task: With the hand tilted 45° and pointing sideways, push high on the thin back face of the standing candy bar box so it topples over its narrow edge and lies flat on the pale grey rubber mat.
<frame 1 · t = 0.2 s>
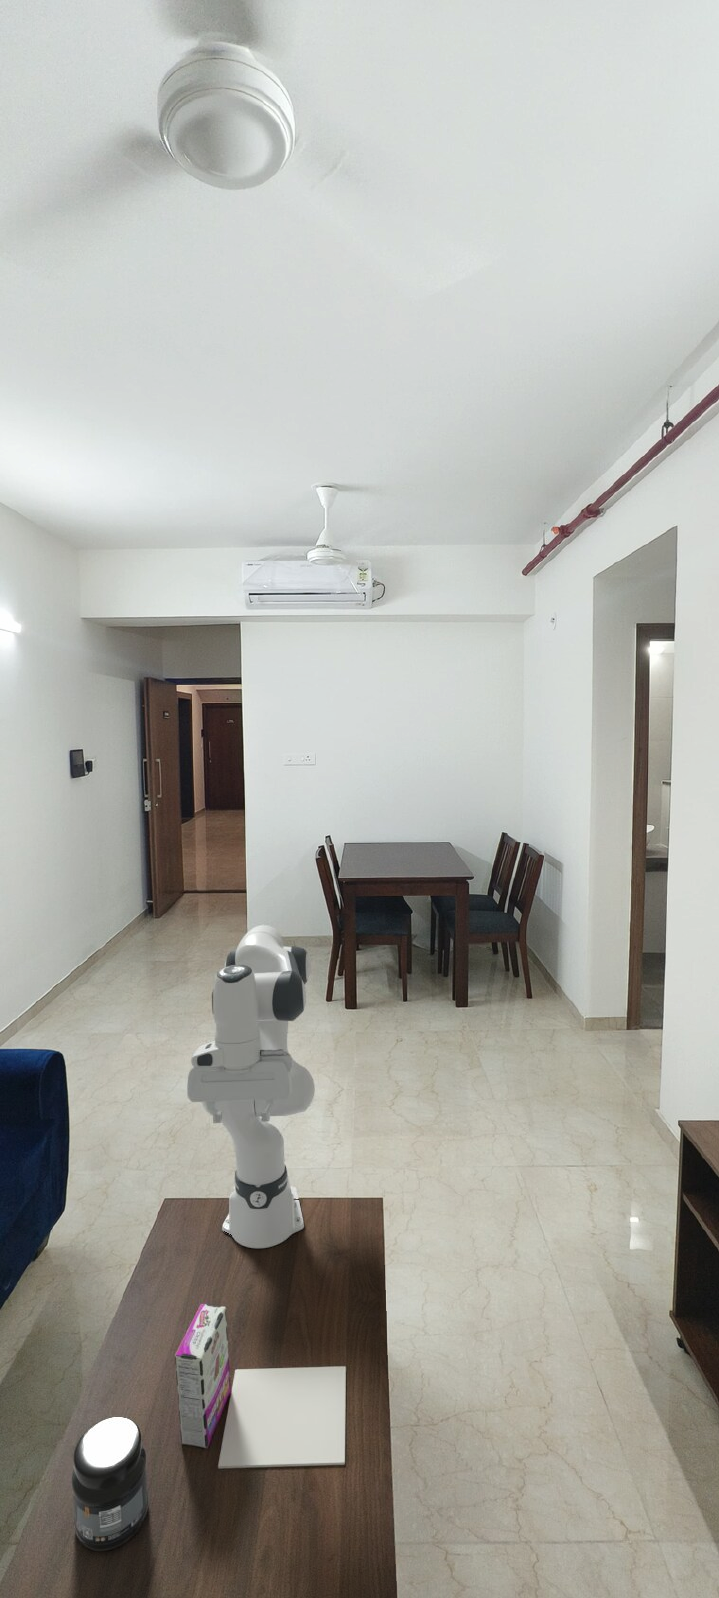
hand: (241, 1121, 150), 39 cm above the table, tool pointing down, fingers open, 8 cm apart
mat: (286, 1414, 130), on the table
supplement container: (112, 1518, 114), on the table
candy bar box: (206, 1418, 130), on the table
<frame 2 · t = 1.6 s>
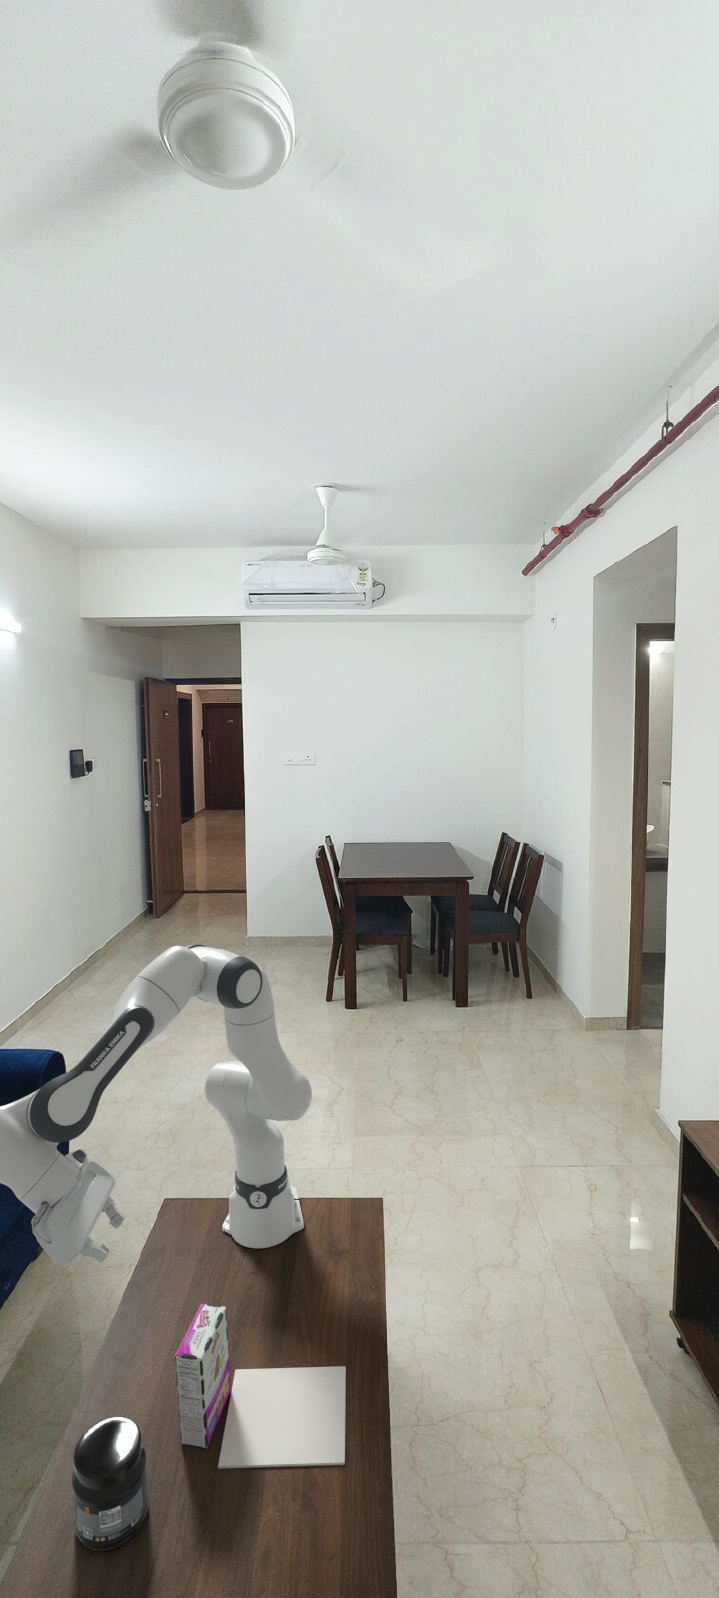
hand: (113, 1239, 131), 30 cm above the table, tool tilted 45°, fingers open, 7 cm apart
nothing on the table moved.
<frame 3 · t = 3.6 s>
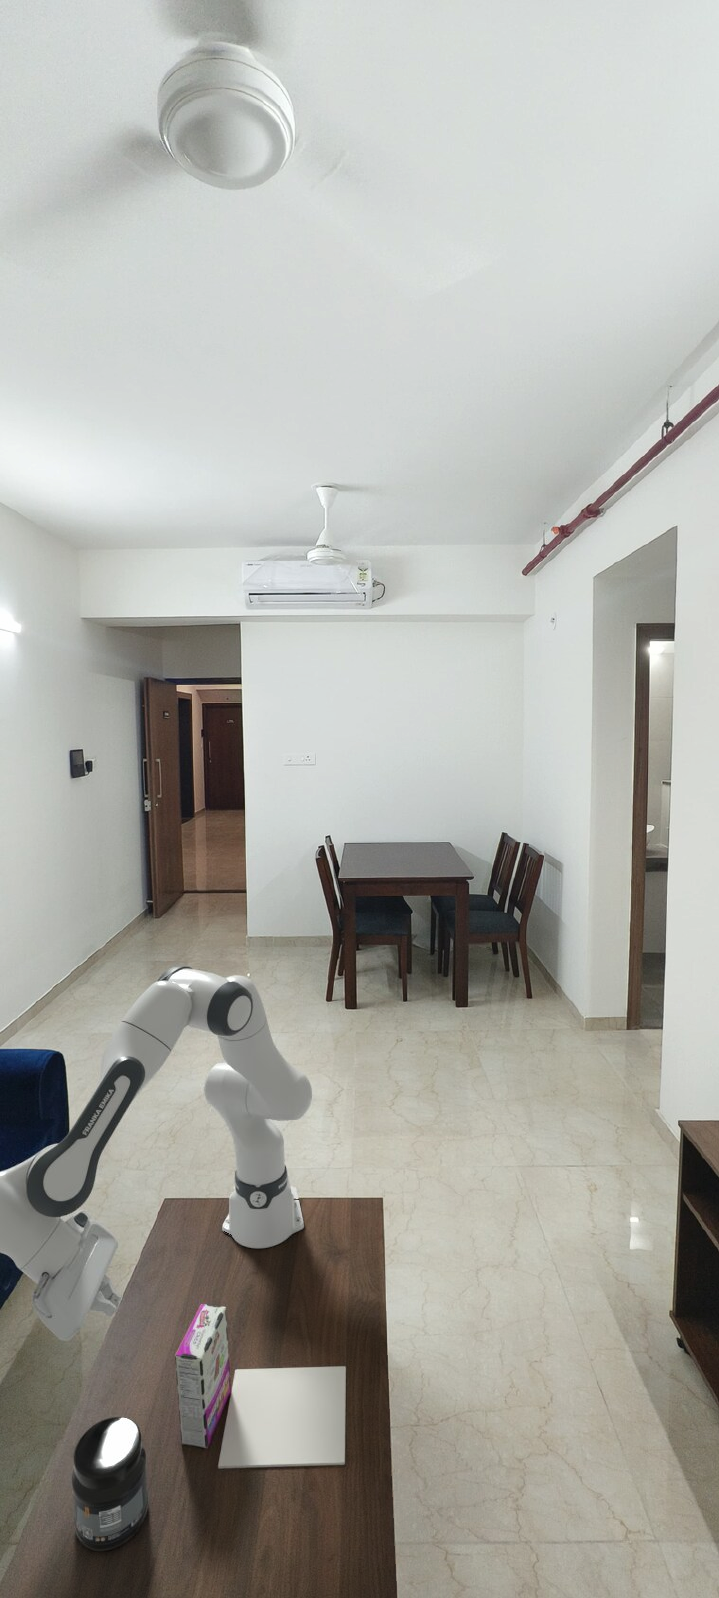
hand: (116, 1307, 128), 21 cm above the table, tool tilted 45°, fingers closed
nothing on the table moved.
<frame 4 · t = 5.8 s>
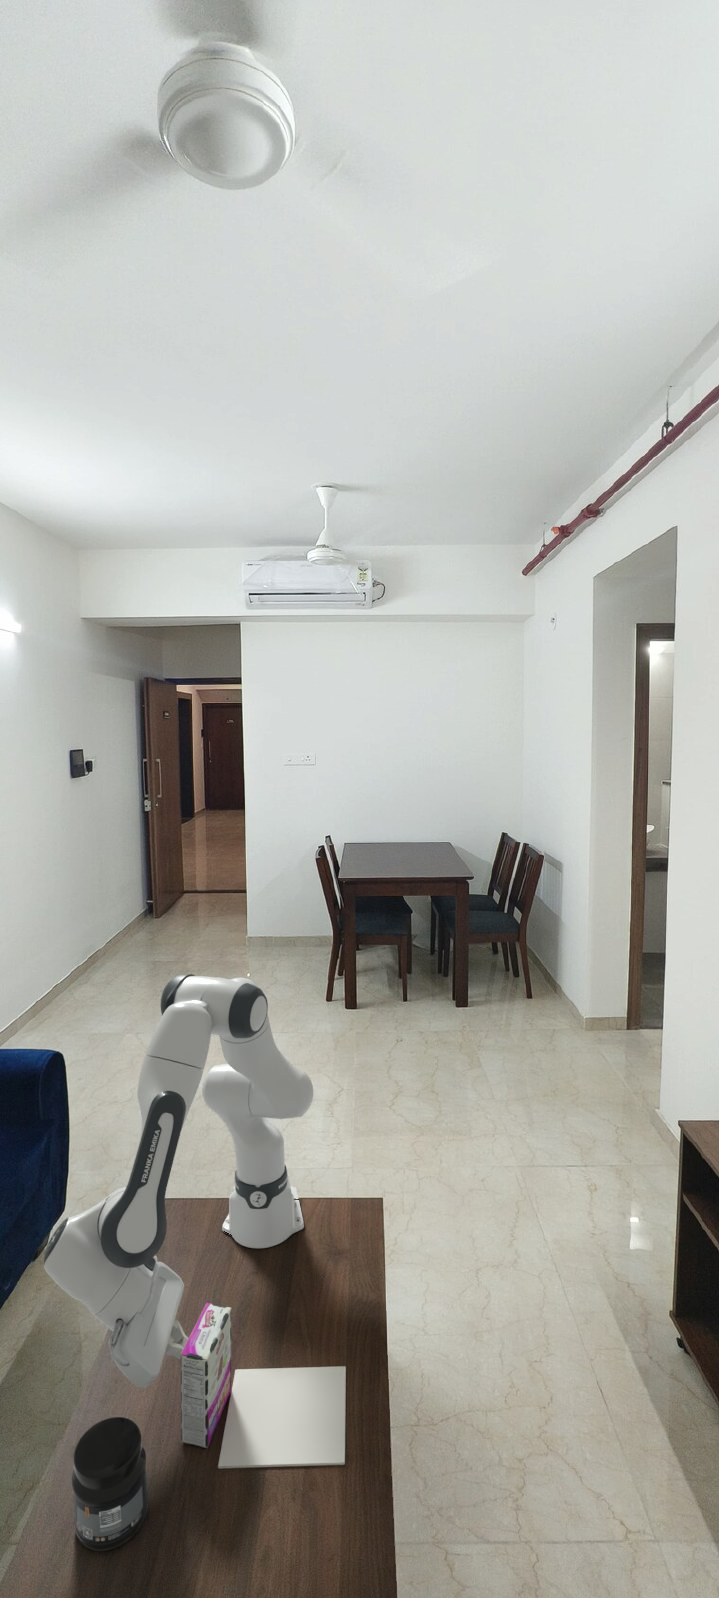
hand: (187, 1351, 129), 12 cm above the table, tool tilted 45°, fingers closed
candy bar box: (206, 1417, 130), on the table, touching gripper
everything else where it was.
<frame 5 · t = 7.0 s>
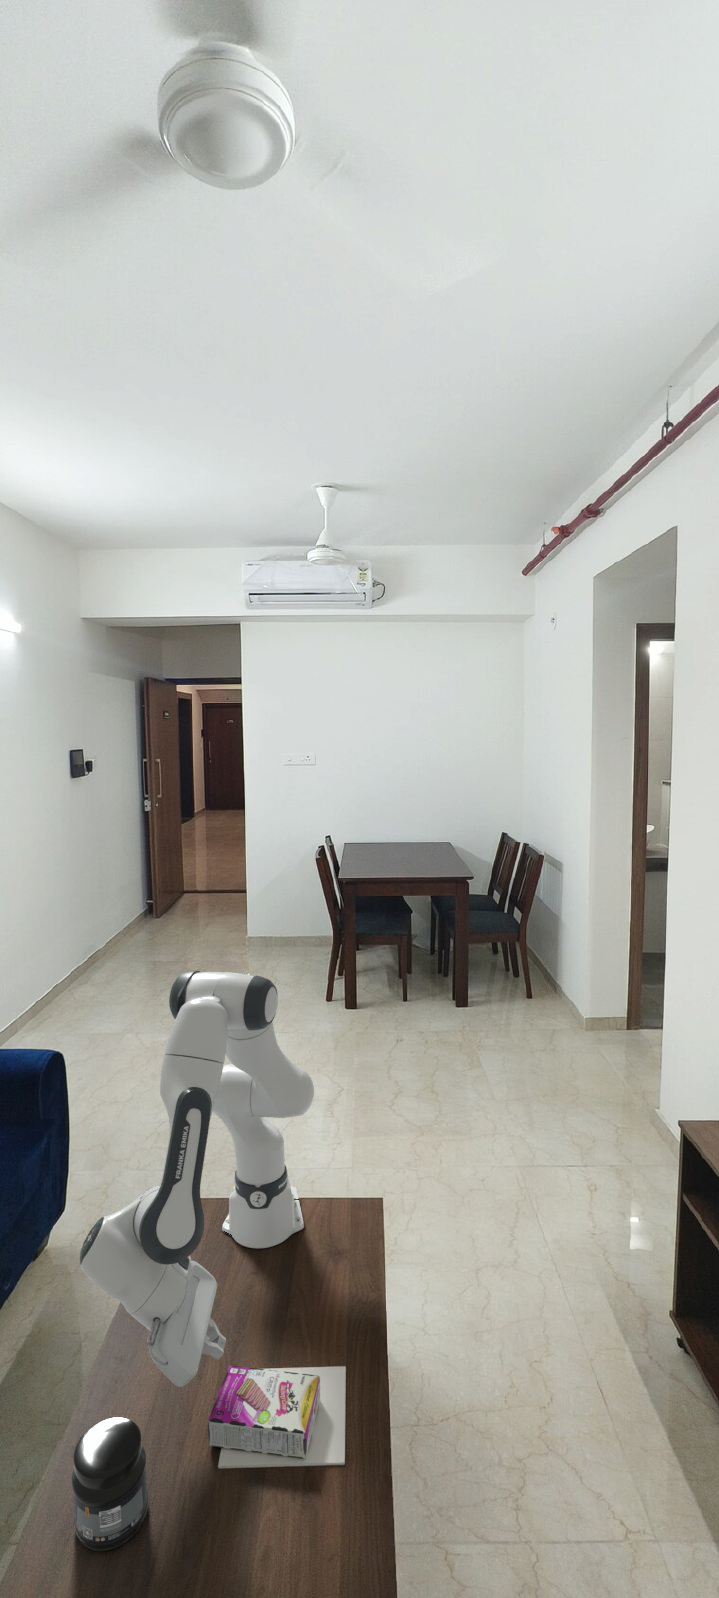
hand: (222, 1350, 129), 12 cm above the table, tool tilted 45°, fingers closed
candy bar box: (217, 1403, 130), point 3 cm above the table, touching mat
everything else where it was.
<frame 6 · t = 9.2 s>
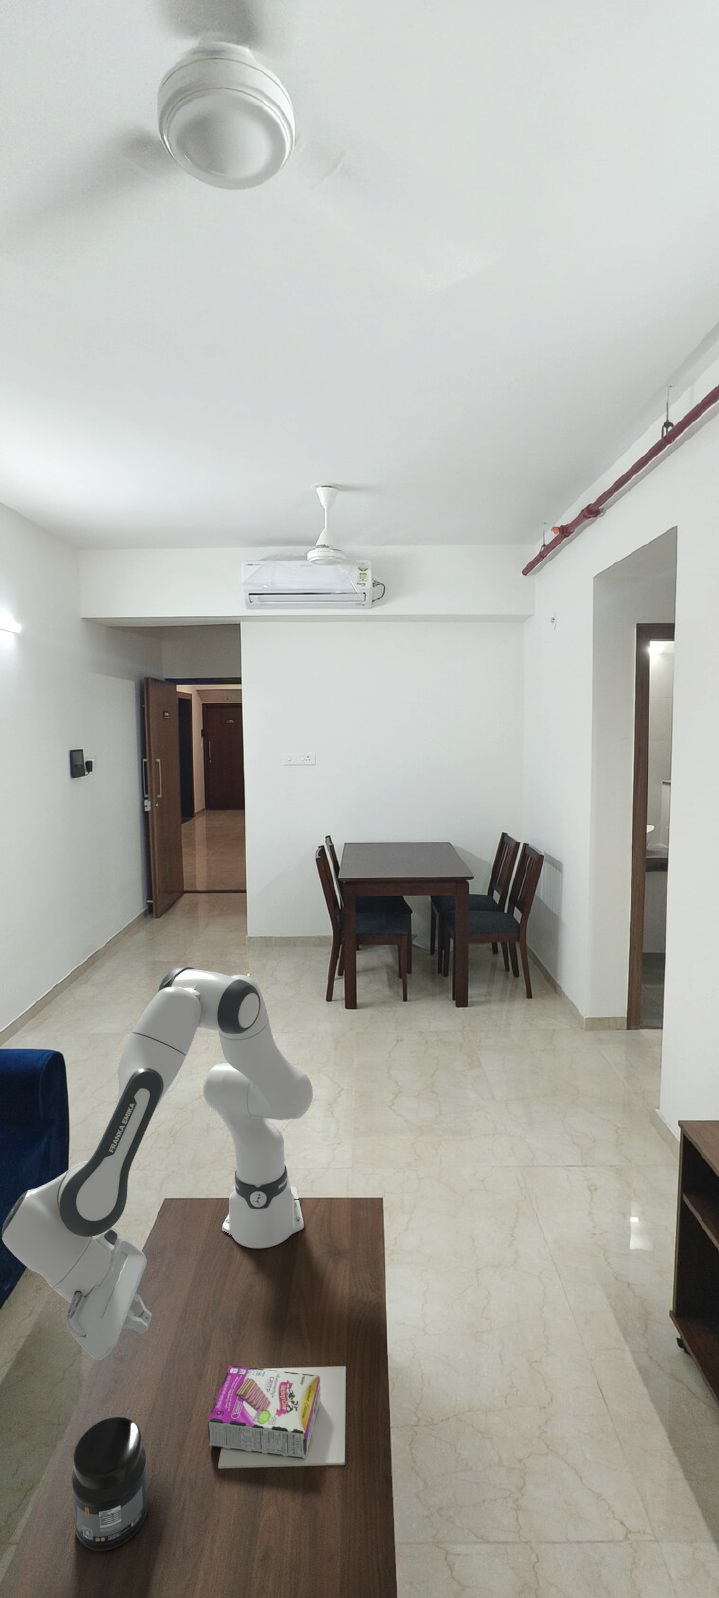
hand: (147, 1325, 128), 17 cm above the table, tool tilted 45°, fingers closed
nothing on the table moved.
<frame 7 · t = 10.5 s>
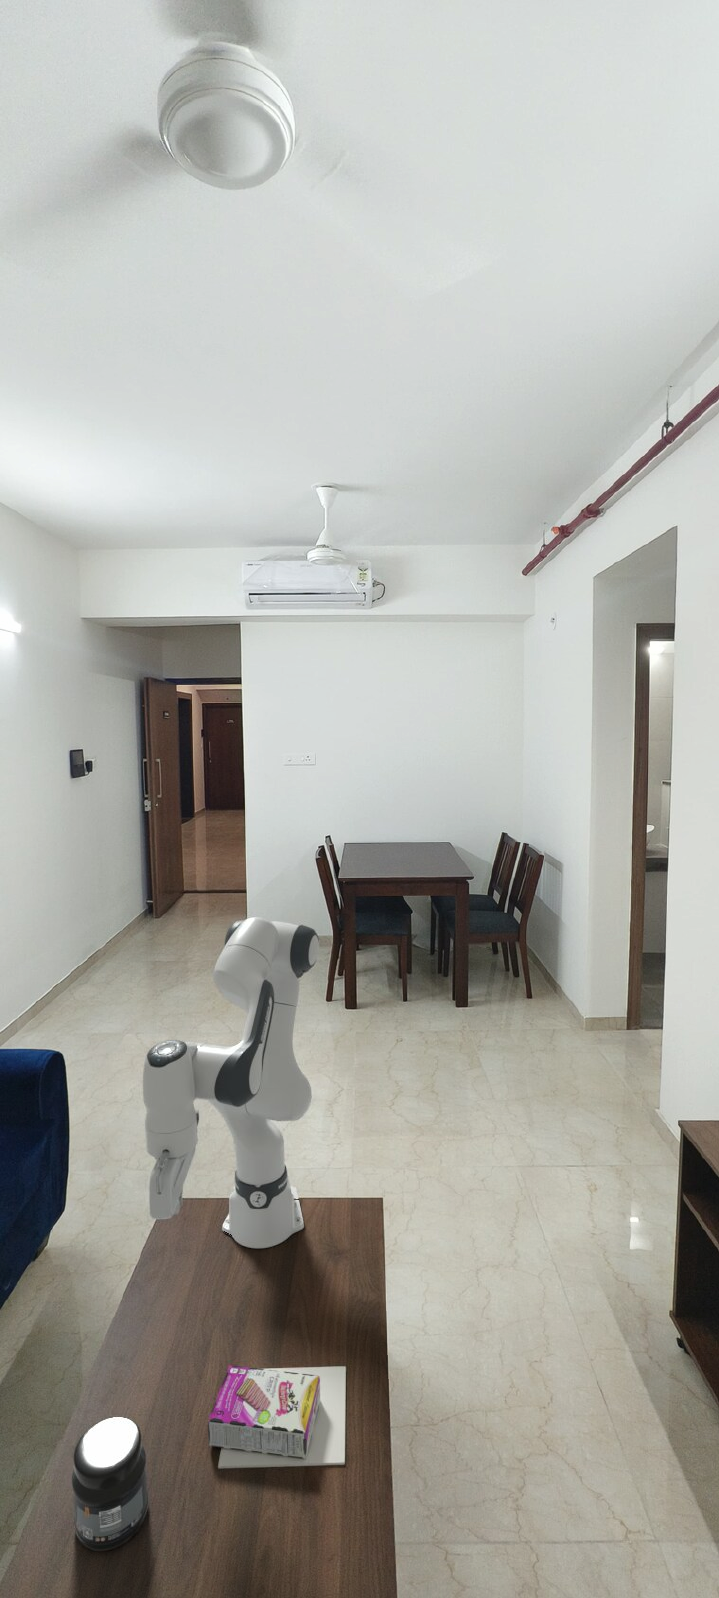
hand: (175, 1209, 137), 31 cm above the table, tool pointing down, fingers closed
nothing on the table moved.
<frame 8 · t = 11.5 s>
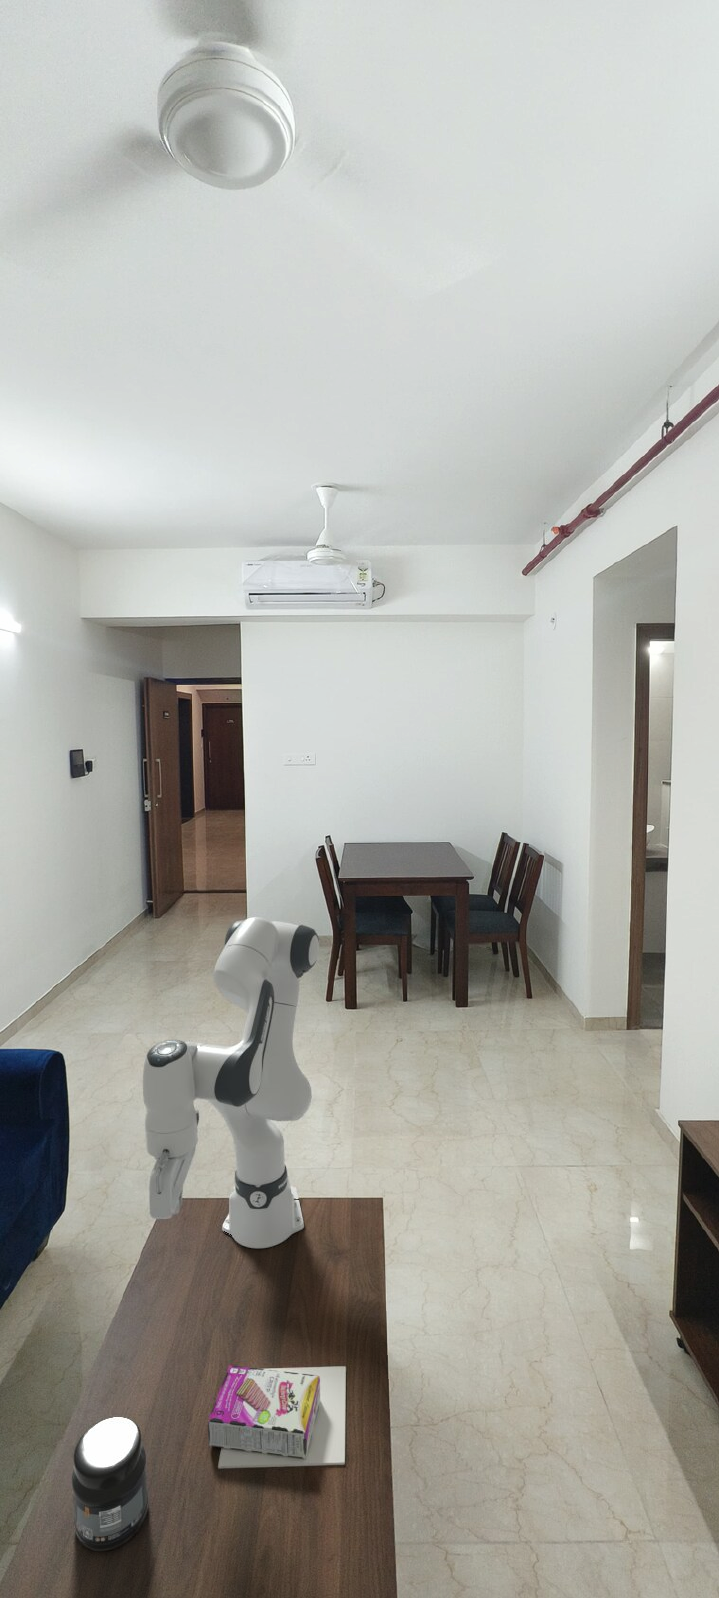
hand: (175, 1209, 137), 31 cm above the table, tool pointing down, fingers closed
nothing on the table moved.
at the end: candy bar box tilted 91°; candy bar box touching mat; candy bar box inside the target area (1.1 cm from its centre), point 2.9 cm above the table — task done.
